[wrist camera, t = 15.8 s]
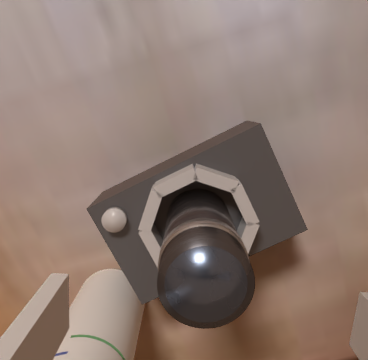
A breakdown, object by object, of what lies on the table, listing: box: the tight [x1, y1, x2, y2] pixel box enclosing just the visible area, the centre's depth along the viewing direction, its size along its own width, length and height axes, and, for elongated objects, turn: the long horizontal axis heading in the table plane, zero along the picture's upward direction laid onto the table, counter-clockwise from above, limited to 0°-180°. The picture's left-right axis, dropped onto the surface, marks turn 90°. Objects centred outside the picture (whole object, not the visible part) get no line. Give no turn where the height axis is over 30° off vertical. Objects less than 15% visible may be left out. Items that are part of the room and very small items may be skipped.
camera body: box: [87, 121, 308, 304], centre depth 31 cm, size 16×10×8 cm, turn 116°
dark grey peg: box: [157, 189, 255, 328], centre depth 23 cm, size 5×5×11 cm
